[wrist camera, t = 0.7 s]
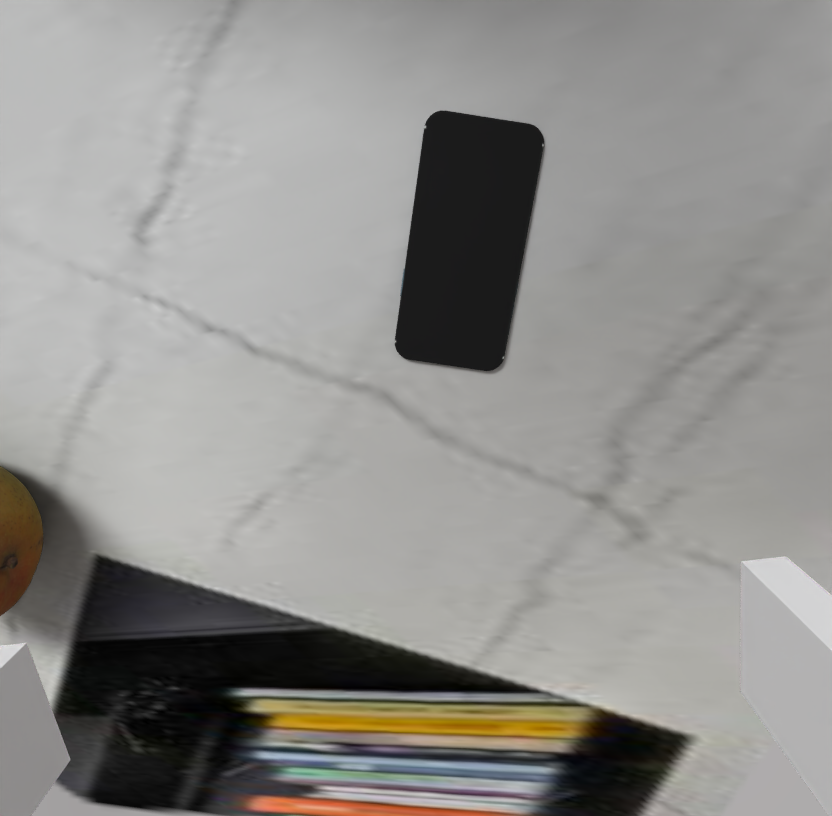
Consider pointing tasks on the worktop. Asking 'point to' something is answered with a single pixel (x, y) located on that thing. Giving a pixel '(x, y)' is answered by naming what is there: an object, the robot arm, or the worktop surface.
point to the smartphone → (467, 239)
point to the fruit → (17, 539)
